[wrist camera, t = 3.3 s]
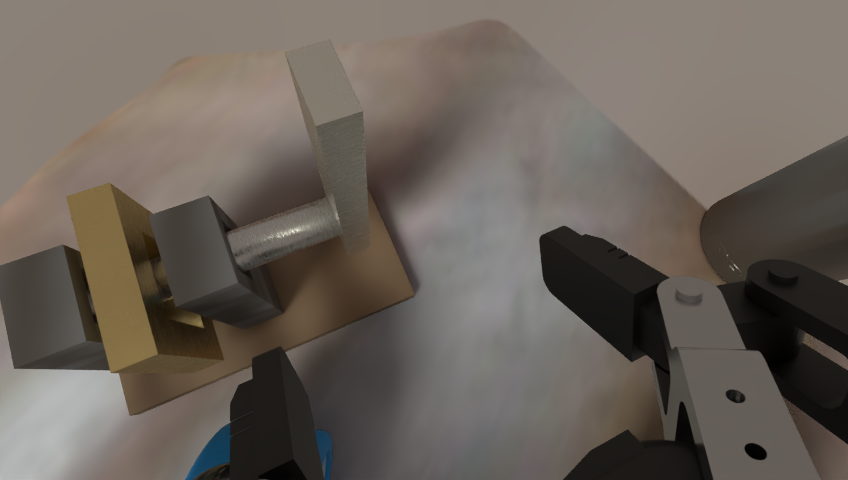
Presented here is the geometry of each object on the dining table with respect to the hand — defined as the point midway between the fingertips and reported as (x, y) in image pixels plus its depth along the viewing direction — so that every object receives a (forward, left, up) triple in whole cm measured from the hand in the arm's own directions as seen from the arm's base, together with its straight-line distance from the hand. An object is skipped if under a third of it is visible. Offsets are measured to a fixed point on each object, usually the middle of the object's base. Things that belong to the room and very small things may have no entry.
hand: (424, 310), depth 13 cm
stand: (+6, -9, -22) cm, 25 cm away
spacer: (+10, -10, -18) cm, 23 cm away
